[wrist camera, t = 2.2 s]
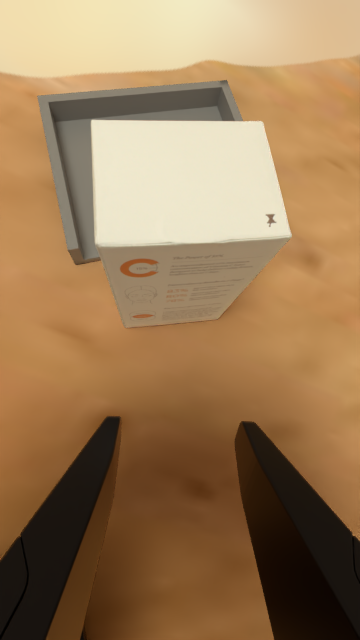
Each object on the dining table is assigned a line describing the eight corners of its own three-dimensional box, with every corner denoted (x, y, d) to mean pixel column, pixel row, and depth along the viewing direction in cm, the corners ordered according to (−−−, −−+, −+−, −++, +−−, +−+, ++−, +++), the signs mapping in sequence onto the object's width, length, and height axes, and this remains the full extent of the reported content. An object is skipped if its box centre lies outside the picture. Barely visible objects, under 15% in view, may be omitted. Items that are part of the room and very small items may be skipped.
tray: (267, 228, 27) (279, 212, 25) (75, 264, 24) (67, 250, 21) (220, 105, 30) (226, 80, 28) (46, 122, 27) (37, 95, 25)
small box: (208, 253, 26) (267, 116, 13) (218, 320, 24) (298, 238, 11) (117, 258, 24) (87, 114, 12) (122, 329, 23) (94, 248, 10)
